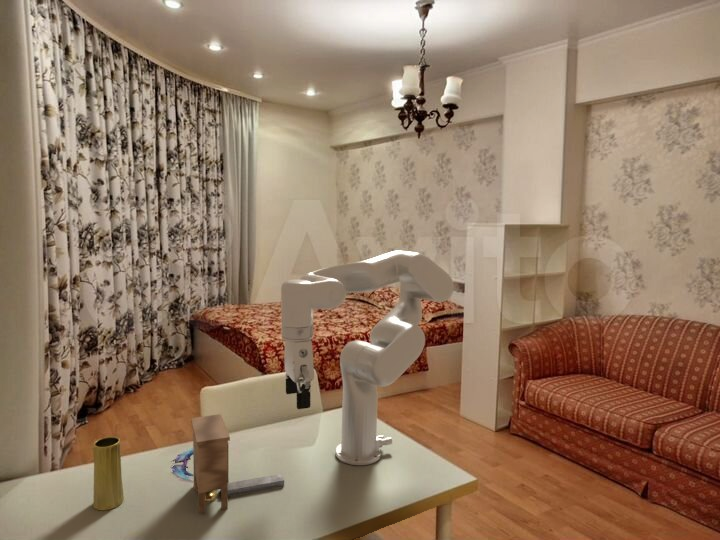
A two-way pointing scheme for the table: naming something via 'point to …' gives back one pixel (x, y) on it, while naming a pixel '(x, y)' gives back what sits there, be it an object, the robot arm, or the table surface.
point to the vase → (107, 474)
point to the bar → (255, 485)
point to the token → (210, 496)
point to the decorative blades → (183, 466)
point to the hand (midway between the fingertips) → (297, 400)
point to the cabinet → (210, 458)
